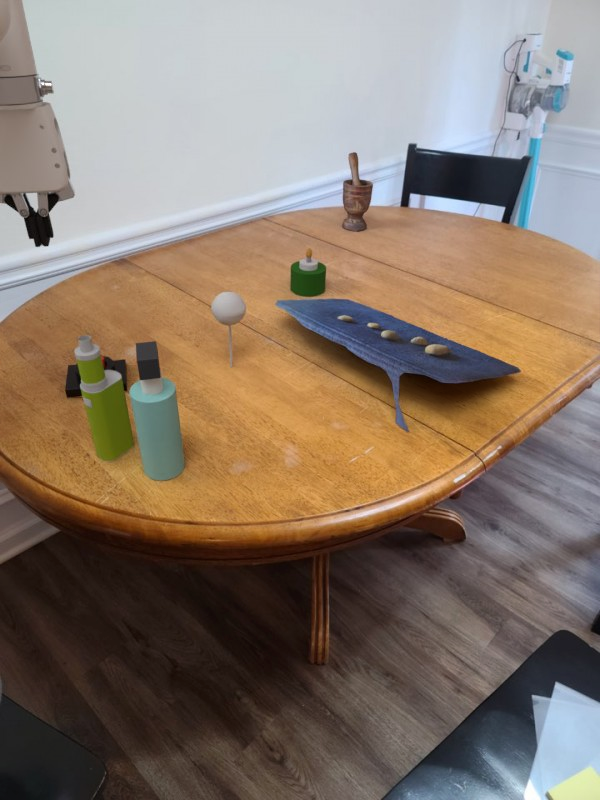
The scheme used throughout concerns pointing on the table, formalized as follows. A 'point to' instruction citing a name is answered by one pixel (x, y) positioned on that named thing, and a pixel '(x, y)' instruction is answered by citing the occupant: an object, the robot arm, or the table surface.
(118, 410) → the vape
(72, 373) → the button box
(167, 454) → the spray bottle
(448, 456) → the table surface
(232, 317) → the lollipop
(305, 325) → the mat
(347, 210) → the mortar and pestle
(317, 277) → the candle
